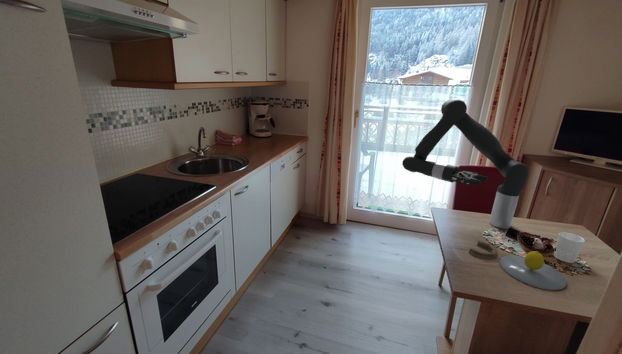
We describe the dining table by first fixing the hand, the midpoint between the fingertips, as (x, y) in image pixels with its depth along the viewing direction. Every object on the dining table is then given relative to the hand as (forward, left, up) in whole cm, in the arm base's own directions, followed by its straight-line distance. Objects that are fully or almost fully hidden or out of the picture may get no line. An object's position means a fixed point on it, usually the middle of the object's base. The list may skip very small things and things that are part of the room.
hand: (483, 181), depth 119 cm
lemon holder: (+6, +8, -28) cm, 30 cm away
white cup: (-16, +31, -28) cm, 45 cm away
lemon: (+7, +24, -27) cm, 37 cm away
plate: (+7, +24, -28) cm, 38 cm away
